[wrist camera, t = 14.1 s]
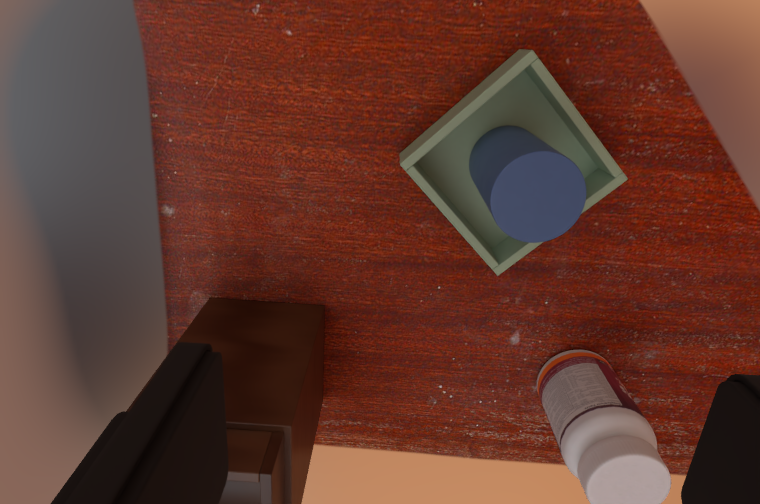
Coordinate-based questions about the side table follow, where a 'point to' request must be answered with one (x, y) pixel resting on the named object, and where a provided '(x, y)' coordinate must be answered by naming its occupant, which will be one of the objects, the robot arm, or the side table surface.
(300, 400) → the stand
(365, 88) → the side table surface
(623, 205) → the side table surface
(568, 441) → the pill bottle
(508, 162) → the vial
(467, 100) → the bin
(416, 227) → the side table surface
